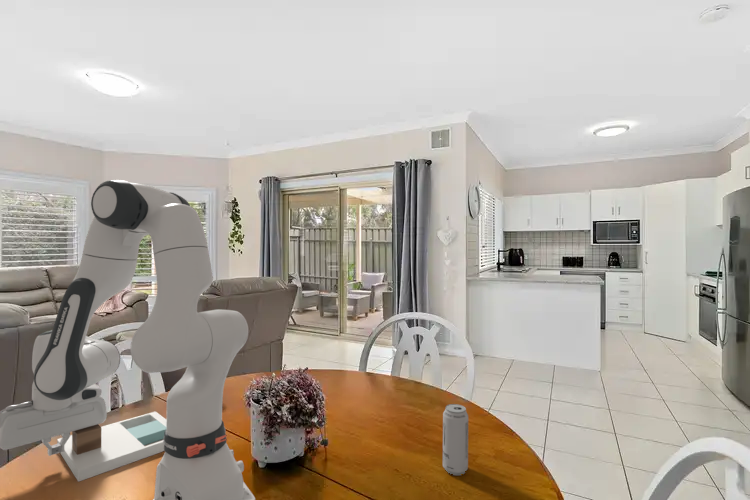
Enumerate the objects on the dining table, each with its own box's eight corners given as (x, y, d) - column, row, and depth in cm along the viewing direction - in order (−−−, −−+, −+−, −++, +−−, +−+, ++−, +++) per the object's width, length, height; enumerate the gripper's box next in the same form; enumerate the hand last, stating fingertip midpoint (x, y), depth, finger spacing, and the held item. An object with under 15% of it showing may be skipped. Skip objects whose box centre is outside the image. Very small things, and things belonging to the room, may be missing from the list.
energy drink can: (441, 462, 99) (442, 402, 99) (466, 463, 98) (466, 403, 98) (443, 475, 93) (443, 412, 93) (469, 477, 92) (469, 413, 92)
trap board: (186, 443, 108) (186, 433, 108) (78, 481, 90) (78, 470, 90) (155, 419, 122) (155, 411, 122) (57, 448, 104) (57, 439, 104)
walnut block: (101, 447, 100) (101, 427, 100) (77, 454, 96) (77, 434, 96) (95, 440, 103) (95, 421, 103) (72, 447, 100) (72, 428, 100)
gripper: (-2, 412, 85) (-2, 476, 85) (108, 387, 101) (108, 442, 101) (-6, 404, 89) (-6, 465, 89) (101, 382, 105) (101, 434, 105)
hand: (56, 453), depth 95 cm, fingers closed
